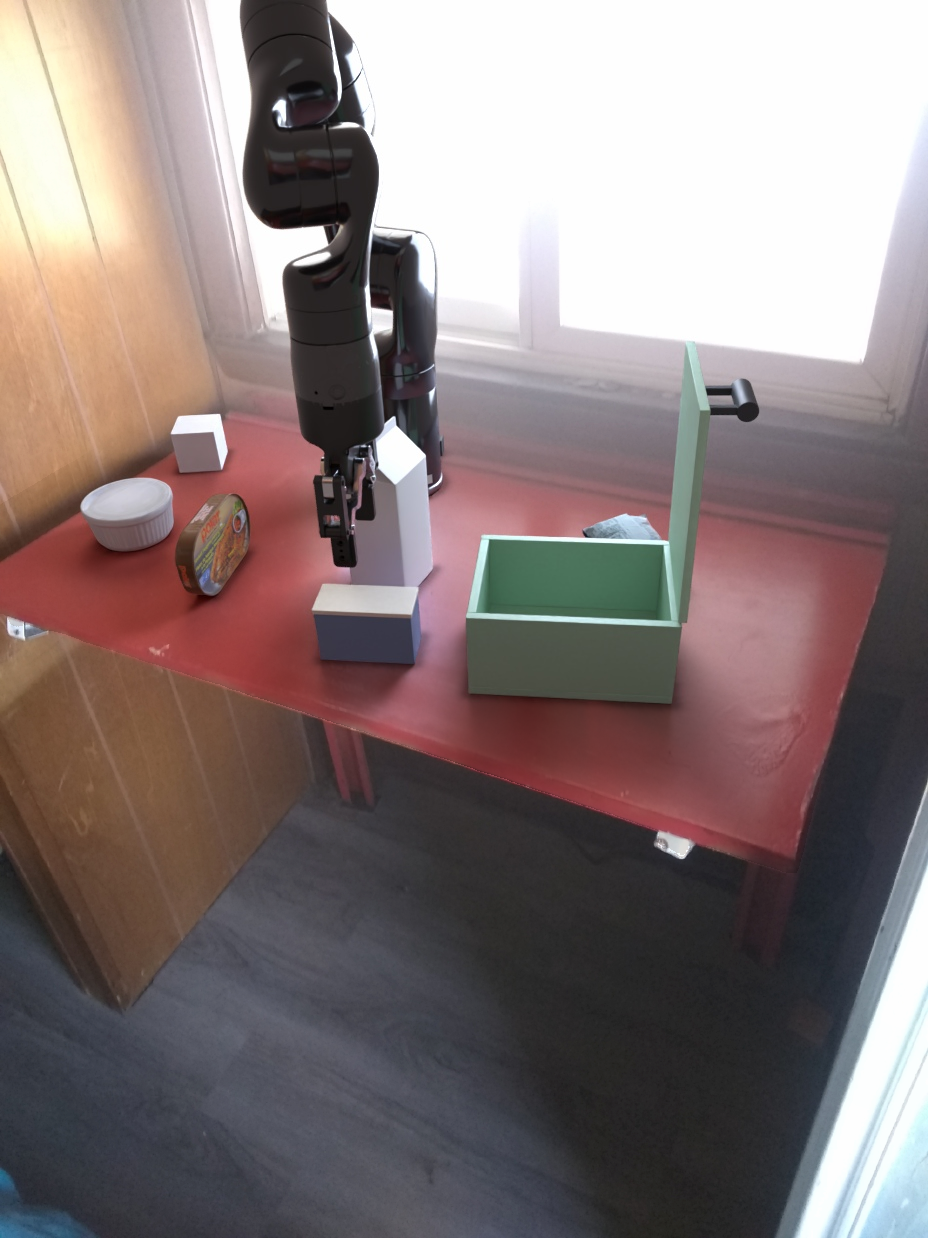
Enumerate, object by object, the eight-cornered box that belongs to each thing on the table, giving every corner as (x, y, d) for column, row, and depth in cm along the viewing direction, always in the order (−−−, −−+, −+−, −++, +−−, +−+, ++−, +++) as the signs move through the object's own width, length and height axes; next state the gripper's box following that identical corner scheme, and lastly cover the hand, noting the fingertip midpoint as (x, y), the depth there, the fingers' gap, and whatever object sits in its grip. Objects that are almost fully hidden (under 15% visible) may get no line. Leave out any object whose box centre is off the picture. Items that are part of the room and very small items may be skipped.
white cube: (227, 451, 136) (220, 413, 133) (221, 470, 132) (213, 431, 128) (186, 453, 136) (178, 415, 133) (179, 472, 131) (170, 434, 128)
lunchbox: (468, 693, 91) (465, 618, 86) (483, 606, 103) (481, 534, 98) (671, 704, 89) (682, 627, 84) (663, 613, 101) (671, 540, 95)
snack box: (330, 632, 100) (322, 583, 96) (422, 636, 99) (418, 586, 95) (319, 660, 96) (311, 610, 93) (415, 665, 95) (411, 614, 91)
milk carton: (433, 569, 109) (423, 421, 98) (405, 602, 104) (392, 449, 93) (381, 557, 112) (366, 411, 100) (351, 588, 107) (331, 438, 95)
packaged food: (645, 533, 114) (648, 498, 111) (688, 585, 105) (693, 548, 102) (579, 546, 113) (580, 511, 110) (617, 600, 103) (619, 563, 100)
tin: (207, 610, 104) (191, 547, 99) (181, 608, 105) (164, 545, 100) (256, 540, 116) (245, 480, 111) (233, 538, 117) (220, 479, 111)
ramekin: (108, 512, 123) (98, 476, 120) (191, 510, 123) (182, 475, 119) (77, 557, 114) (65, 521, 111) (166, 557, 114) (156, 520, 110)
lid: (700, 410, 71) (772, 410, 70) (685, 341, 83) (747, 340, 82) (678, 623, 83) (739, 624, 83) (668, 536, 95) (721, 537, 94)
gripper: (315, 352, 86) (335, 504, 96) (272, 415, 75) (299, 580, 84) (394, 353, 85) (406, 506, 95) (362, 417, 74) (379, 584, 84)
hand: (356, 541), depth 90 cm, fingers open, 8 cm apart
